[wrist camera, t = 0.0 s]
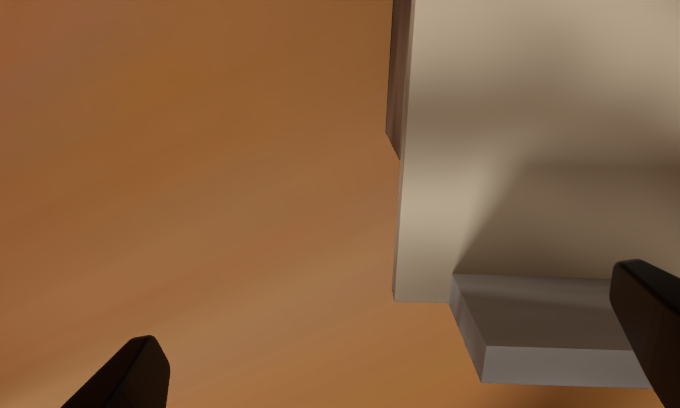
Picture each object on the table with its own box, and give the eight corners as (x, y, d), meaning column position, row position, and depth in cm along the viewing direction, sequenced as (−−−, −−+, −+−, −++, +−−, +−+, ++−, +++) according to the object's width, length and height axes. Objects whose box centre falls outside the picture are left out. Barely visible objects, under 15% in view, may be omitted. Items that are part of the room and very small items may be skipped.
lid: (702, 299, 19) (840, 394, 14) (391, 288, 19) (409, 380, 14) (799, -45, 15) (1039, -96, 10) (415, -57, 15) (452, -114, 10)
